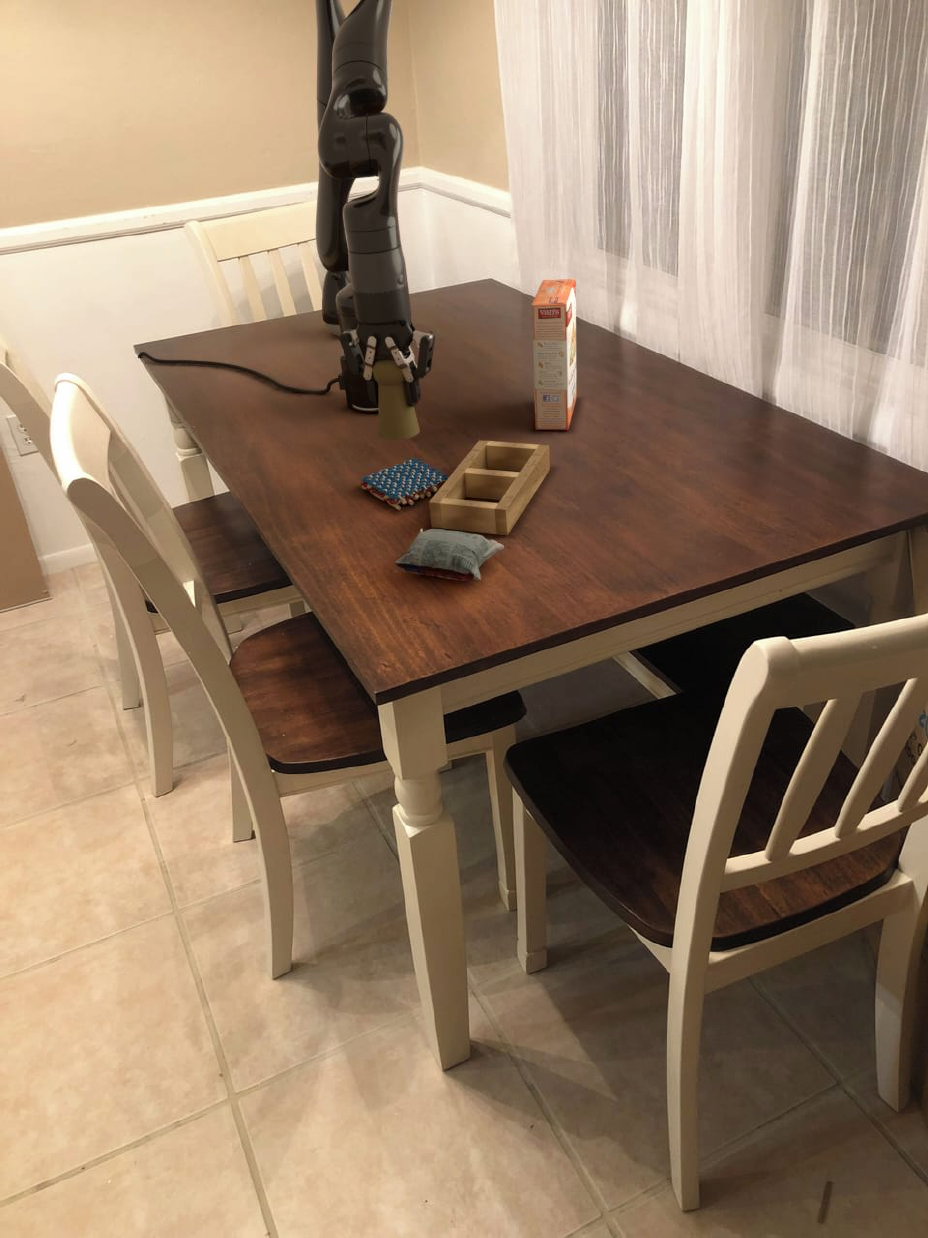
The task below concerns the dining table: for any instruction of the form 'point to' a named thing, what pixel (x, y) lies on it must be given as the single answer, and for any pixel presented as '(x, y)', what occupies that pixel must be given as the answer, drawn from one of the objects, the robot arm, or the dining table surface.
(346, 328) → the robot arm
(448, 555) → the packaged food
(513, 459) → the spice rack
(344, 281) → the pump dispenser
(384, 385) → the olive peg doll
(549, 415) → the cracker box
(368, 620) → the dining table surface
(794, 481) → the dining table surface
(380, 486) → the woven mat
